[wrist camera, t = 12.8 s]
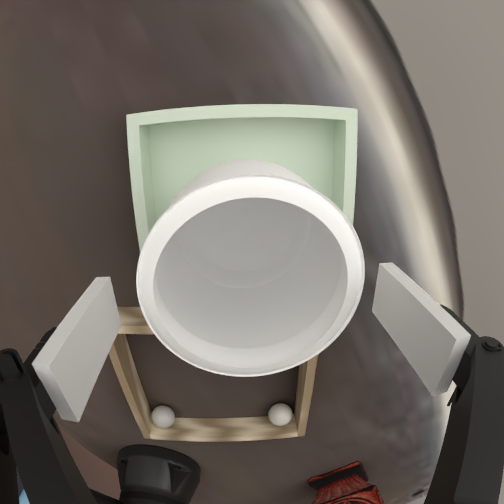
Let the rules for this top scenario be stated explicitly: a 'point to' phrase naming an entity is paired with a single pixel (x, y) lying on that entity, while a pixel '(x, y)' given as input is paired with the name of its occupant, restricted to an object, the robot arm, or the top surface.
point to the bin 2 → (201, 427)
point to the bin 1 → (239, 150)
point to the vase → (345, 487)
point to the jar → (249, 271)
